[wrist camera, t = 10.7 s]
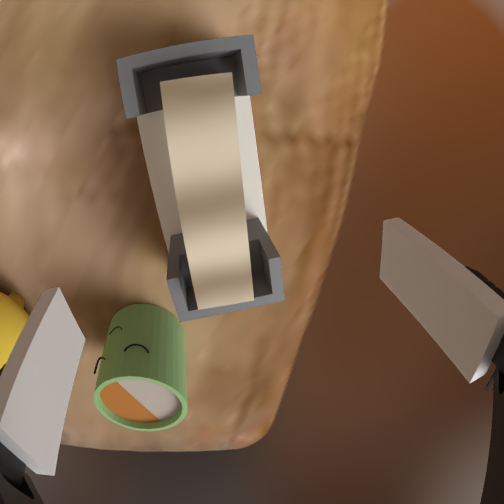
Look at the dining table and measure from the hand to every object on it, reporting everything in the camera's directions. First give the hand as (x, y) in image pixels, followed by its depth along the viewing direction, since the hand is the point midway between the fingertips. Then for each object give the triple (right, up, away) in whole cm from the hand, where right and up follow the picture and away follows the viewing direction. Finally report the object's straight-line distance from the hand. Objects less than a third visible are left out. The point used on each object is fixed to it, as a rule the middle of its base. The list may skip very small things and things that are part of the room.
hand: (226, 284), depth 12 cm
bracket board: (-4, +10, +20) cm, 23 cm away
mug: (-14, -10, +28) cm, 33 cm away
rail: (-3, +7, +15) cm, 17 cm away
